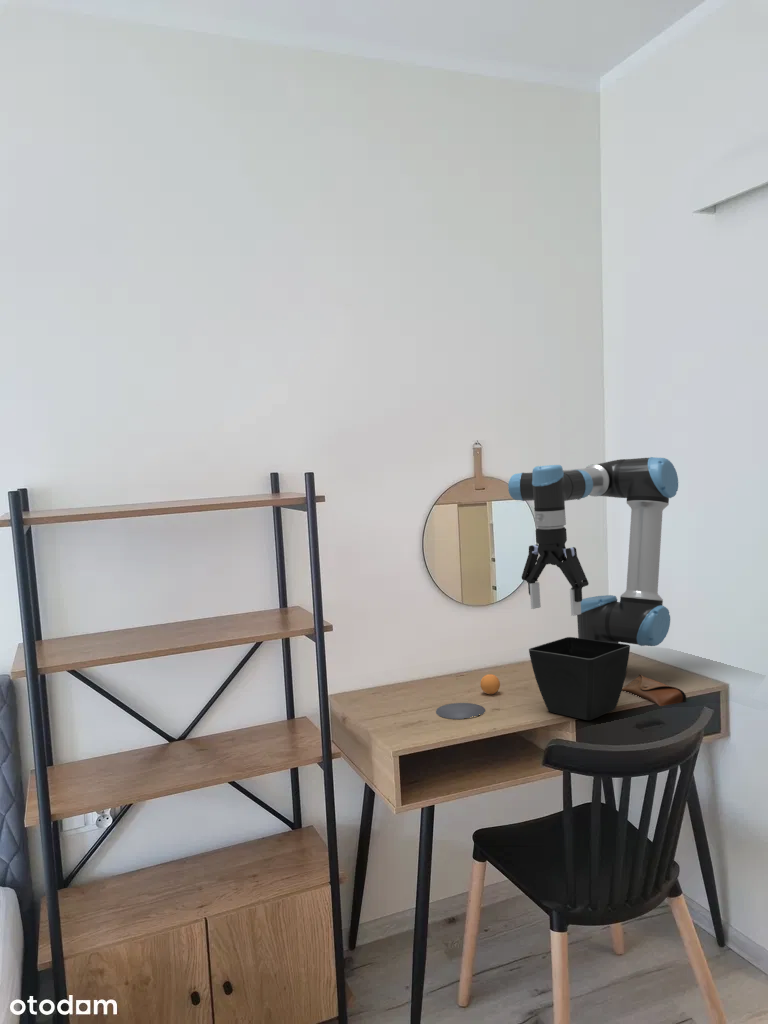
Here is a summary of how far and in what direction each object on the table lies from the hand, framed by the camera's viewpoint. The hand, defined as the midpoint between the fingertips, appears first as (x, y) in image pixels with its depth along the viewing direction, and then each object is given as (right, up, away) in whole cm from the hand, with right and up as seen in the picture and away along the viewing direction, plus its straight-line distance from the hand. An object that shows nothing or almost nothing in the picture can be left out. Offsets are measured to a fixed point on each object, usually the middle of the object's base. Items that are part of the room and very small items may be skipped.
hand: (555, 611), depth 191 cm
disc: (-23, -28, +10) cm, 37 cm away
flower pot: (+8, -27, +5) cm, 28 cm away
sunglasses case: (+29, -25, +14) cm, 41 cm away
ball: (-13, -24, +24) cm, 36 cm away
